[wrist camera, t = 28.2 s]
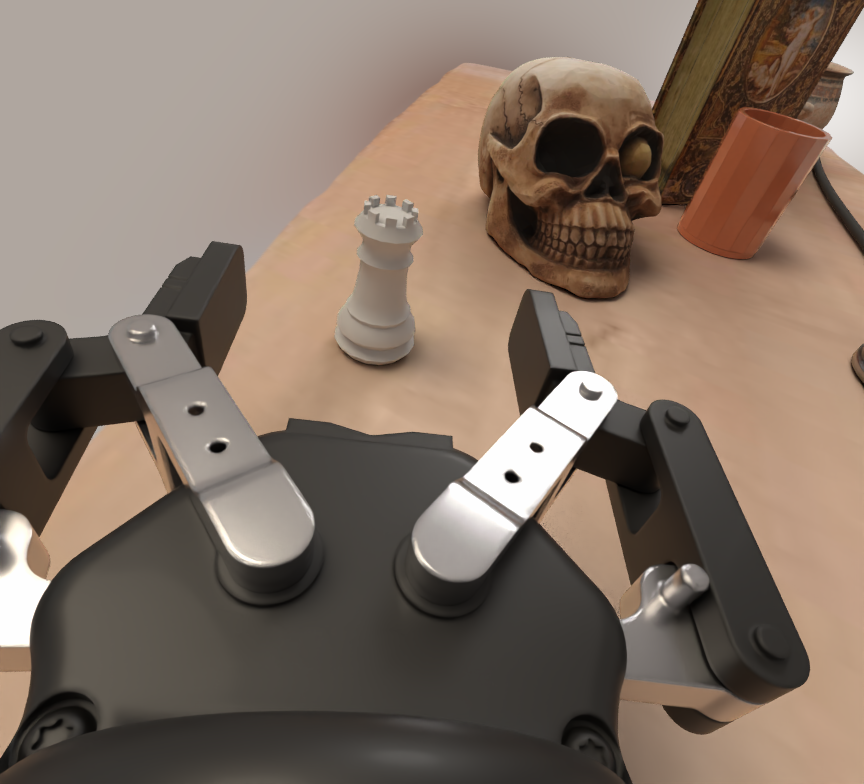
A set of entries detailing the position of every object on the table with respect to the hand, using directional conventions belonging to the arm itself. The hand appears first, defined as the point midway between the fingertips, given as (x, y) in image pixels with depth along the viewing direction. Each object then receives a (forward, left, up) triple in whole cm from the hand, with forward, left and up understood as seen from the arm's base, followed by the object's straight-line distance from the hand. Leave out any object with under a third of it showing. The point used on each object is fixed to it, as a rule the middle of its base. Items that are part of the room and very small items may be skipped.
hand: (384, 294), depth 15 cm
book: (-55, -9, -10) cm, 57 cm away
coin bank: (-29, -11, -10) cm, 33 cm away
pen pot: (-45, -2, -10) cm, 47 cm away
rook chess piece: (-7, -7, -10) cm, 15 cm away
